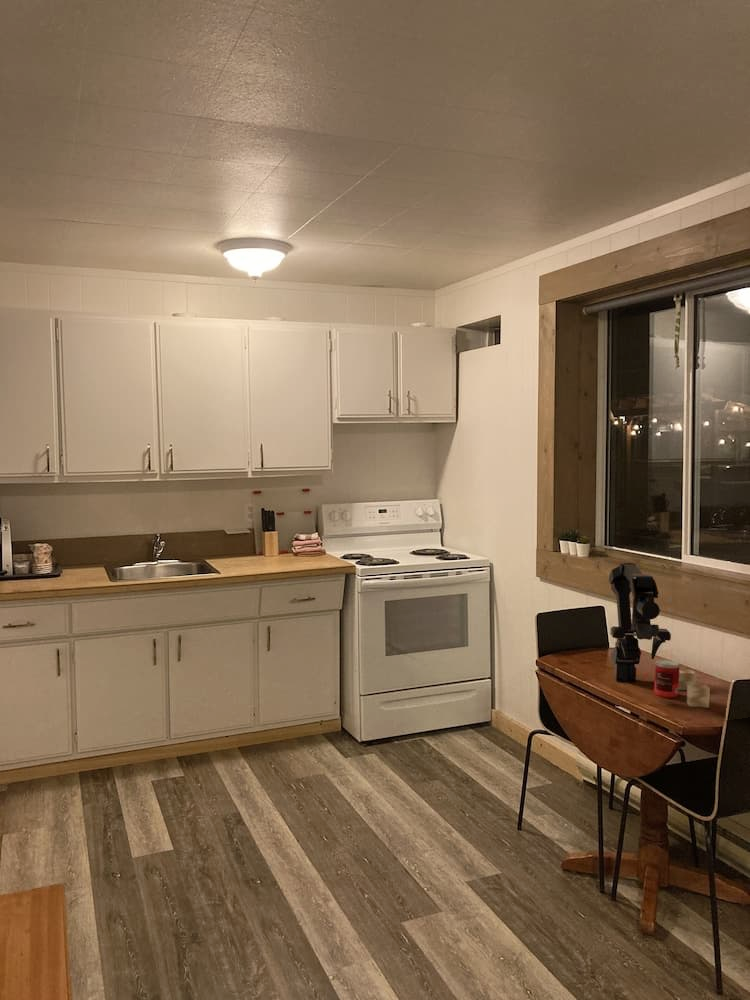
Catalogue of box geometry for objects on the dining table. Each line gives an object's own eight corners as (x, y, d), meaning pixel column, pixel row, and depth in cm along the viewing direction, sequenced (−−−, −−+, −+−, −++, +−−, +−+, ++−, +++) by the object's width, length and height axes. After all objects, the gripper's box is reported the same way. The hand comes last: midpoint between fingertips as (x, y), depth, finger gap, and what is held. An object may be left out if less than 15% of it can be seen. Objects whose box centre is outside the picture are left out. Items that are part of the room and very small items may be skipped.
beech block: (689, 706, 270) (690, 688, 270) (686, 702, 274) (687, 684, 274) (708, 707, 269) (709, 689, 269) (705, 703, 273) (706, 685, 273)
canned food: (672, 691, 286) (674, 660, 285) (682, 699, 278) (683, 666, 277) (650, 691, 286) (651, 659, 285) (659, 698, 278) (660, 666, 277)
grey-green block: (676, 689, 288) (677, 672, 288) (674, 686, 292) (674, 669, 292) (694, 690, 287) (695, 673, 287) (692, 687, 291) (692, 670, 291)
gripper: (616, 616, 274) (614, 663, 275) (675, 619, 272) (673, 666, 273) (611, 609, 285) (609, 654, 286) (667, 612, 283) (665, 657, 284)
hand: (639, 658), depth 282 cm, fingers open, 8 cm apart
